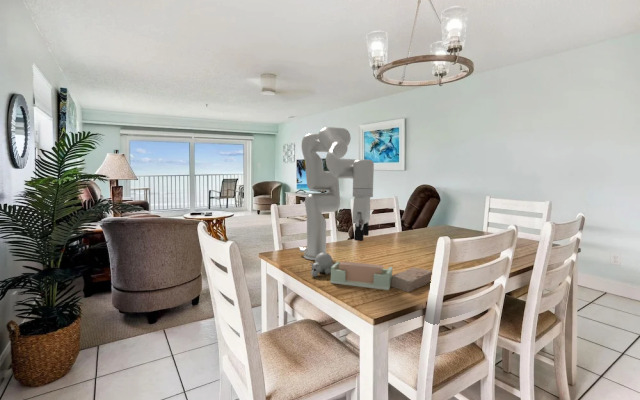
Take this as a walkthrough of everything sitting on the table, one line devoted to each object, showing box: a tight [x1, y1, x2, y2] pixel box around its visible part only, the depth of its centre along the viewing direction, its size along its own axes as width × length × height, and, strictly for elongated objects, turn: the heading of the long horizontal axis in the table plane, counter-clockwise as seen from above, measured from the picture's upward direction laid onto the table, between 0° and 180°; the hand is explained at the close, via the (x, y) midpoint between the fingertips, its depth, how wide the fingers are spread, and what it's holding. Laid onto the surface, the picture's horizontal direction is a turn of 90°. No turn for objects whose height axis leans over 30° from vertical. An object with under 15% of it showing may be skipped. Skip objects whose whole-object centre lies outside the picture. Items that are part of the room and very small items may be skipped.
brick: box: [390, 266, 433, 293], centre depth 125 cm, size 17×8×5 cm, turn 133°
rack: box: [330, 261, 393, 291], centre depth 126 cm, size 22×9×6 cm, turn 70°
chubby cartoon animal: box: [310, 252, 335, 278], centre depth 136 cm, size 7×12×8 cm, turn 137°
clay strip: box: [339, 261, 384, 283], centre depth 126 cm, size 16×4×6 cm, turn 72°
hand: (361, 237), depth 125 cm, fingers open, 9 cm apart
